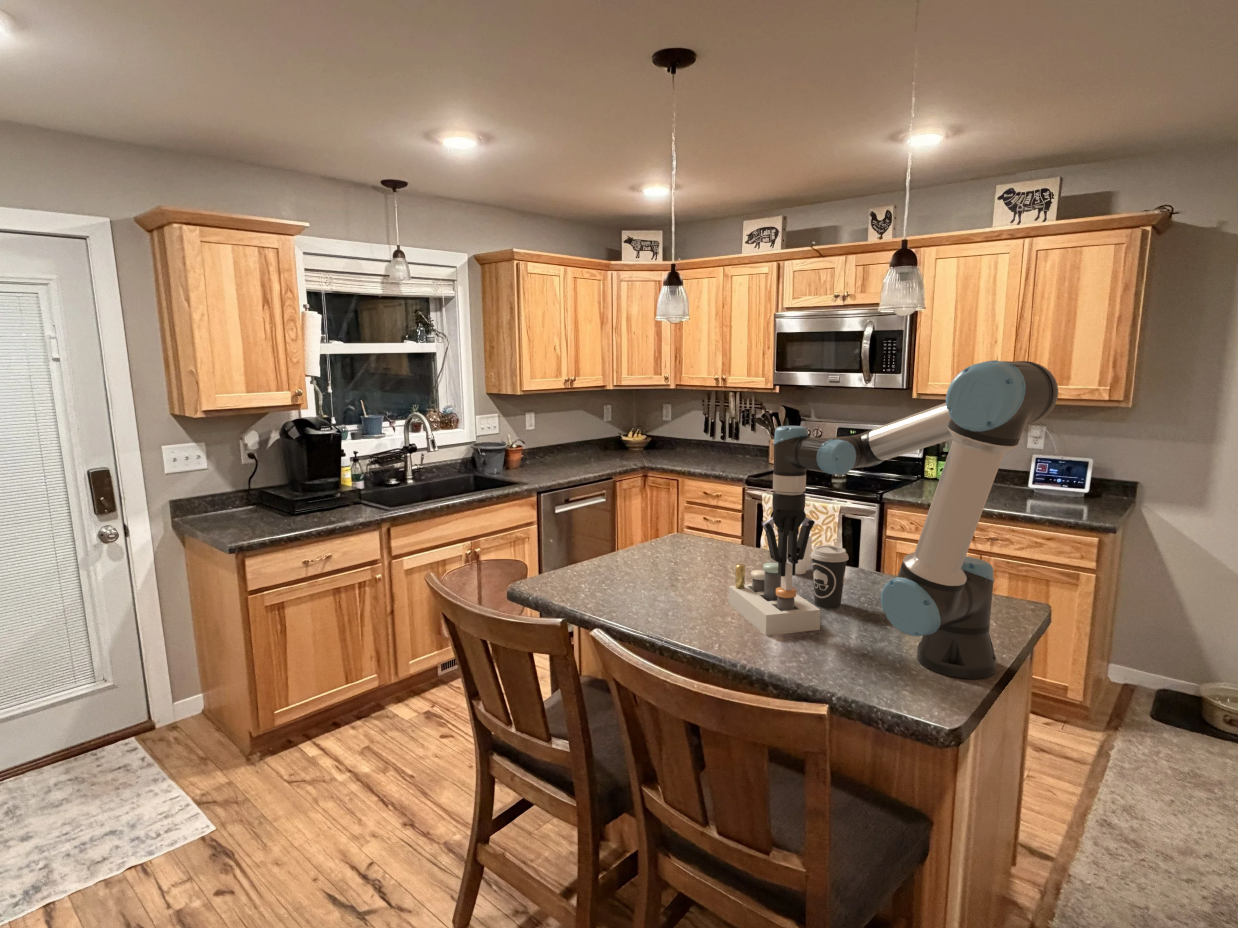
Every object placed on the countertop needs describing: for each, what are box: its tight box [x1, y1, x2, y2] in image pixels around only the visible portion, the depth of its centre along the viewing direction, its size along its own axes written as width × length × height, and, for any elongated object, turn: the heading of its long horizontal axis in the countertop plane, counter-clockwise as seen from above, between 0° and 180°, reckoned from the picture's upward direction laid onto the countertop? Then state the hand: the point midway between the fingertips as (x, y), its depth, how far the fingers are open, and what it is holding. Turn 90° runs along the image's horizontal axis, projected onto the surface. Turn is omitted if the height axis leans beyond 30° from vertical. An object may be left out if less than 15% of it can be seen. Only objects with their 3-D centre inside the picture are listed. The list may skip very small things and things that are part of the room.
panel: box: [728, 583, 821, 637], centre depth 173 cm, size 22×14×5 cm, turn 14°
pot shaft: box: [734, 563, 746, 589], centre depth 180 cm, size 2×2×6 cm
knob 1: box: [750, 569, 765, 592], centre depth 180 cm, size 5×5×9 cm
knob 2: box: [762, 562, 781, 601], centre depth 172 cm, size 5×5×9 cm
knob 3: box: [776, 587, 797, 611], centre depth 166 cm, size 5×5×9 cm
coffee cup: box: [810, 544, 849, 610], centre depth 181 cm, size 10×10×15 cm
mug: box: [787, 530, 813, 575], centre depth 210 cm, size 12×9×12 cm
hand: (786, 588), depth 166 cm, fingers closed
